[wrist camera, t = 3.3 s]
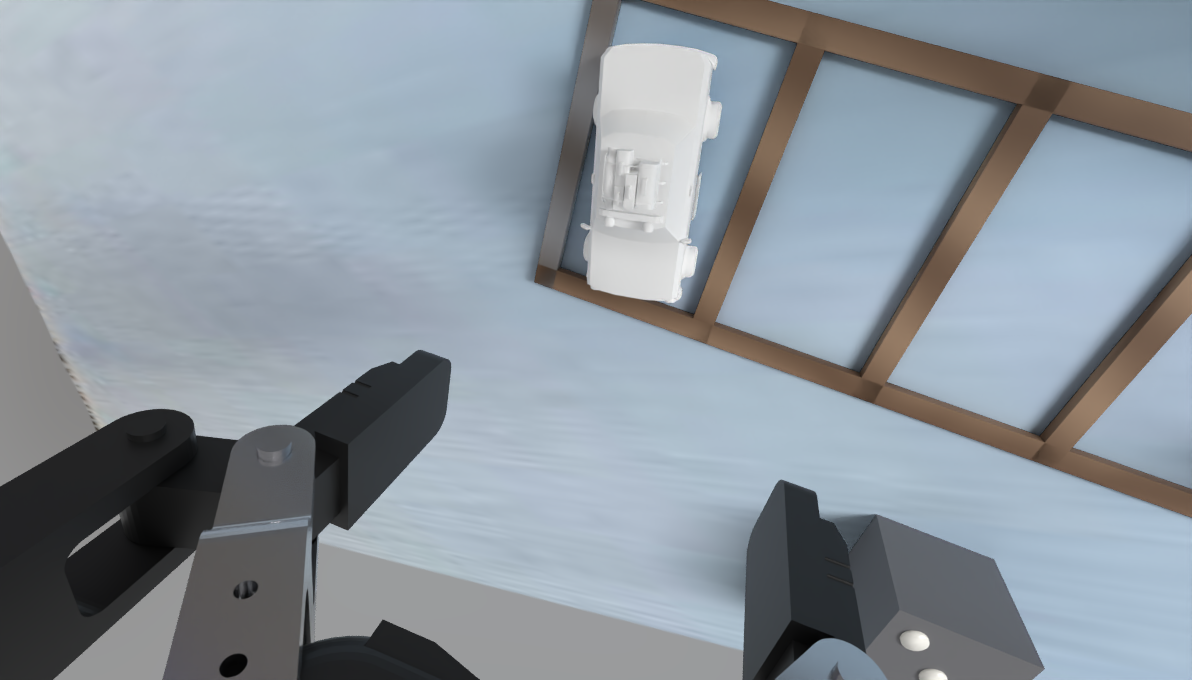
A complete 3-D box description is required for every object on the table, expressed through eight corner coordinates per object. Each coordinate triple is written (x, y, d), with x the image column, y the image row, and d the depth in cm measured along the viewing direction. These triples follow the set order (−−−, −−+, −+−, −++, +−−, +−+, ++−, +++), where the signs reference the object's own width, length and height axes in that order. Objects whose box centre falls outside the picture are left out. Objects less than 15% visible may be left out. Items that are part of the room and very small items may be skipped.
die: (876, 513, 33) (900, 612, 27) (993, 558, 32) (1045, 671, 26) (825, 584, 37) (836, 687, 31) (930, 627, 36) (963, 742, 30)
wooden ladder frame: (605, -42, 25) (602, -45, 24) (1609, 227, 20) (1632, 231, 19) (537, 278, 33) (534, 282, 32) (1242, 530, 28) (1251, 538, 27)
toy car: (592, 274, 32) (552, 318, 26) (609, 42, 27) (563, 32, 21) (694, 291, 31) (675, 341, 25) (733, 51, 25) (721, 42, 19)
